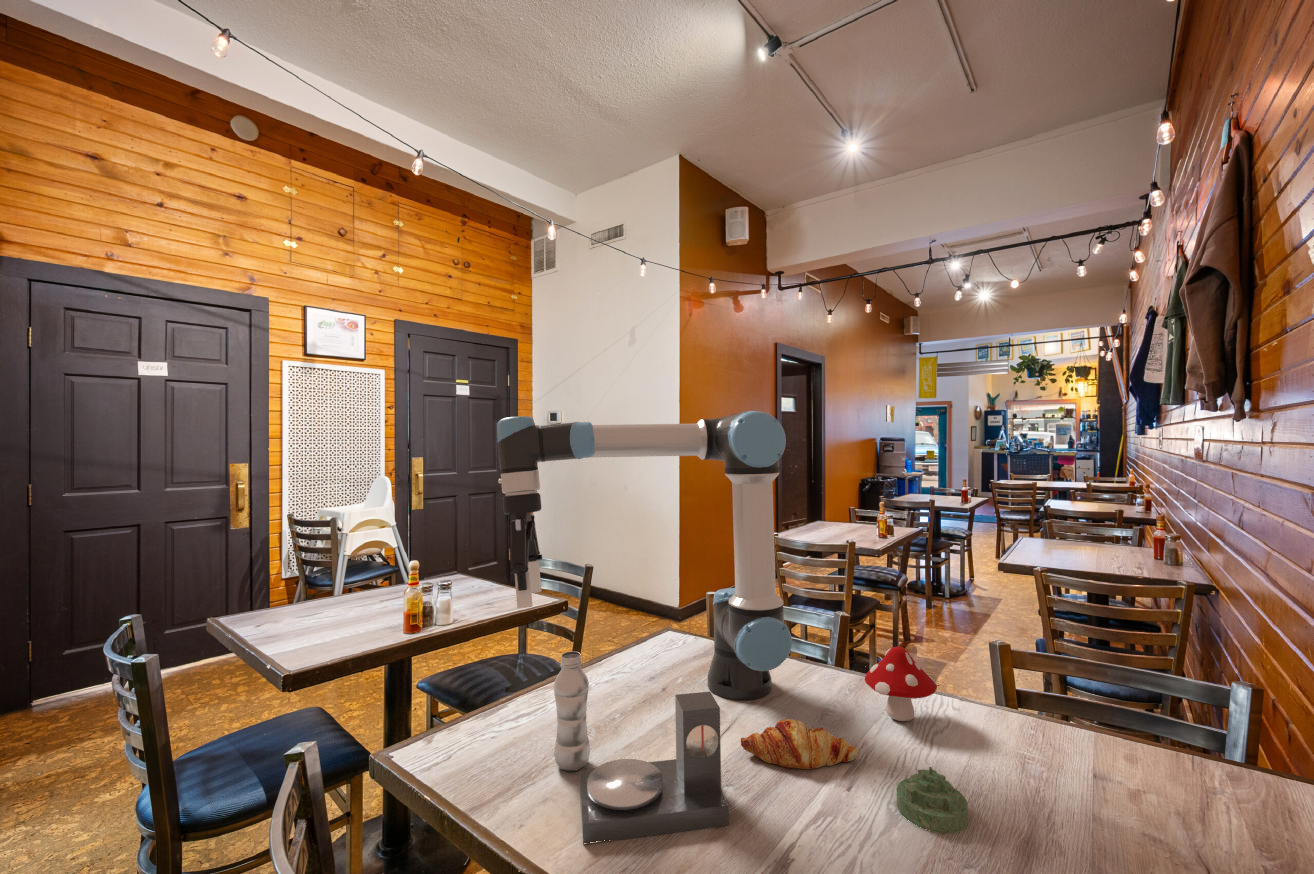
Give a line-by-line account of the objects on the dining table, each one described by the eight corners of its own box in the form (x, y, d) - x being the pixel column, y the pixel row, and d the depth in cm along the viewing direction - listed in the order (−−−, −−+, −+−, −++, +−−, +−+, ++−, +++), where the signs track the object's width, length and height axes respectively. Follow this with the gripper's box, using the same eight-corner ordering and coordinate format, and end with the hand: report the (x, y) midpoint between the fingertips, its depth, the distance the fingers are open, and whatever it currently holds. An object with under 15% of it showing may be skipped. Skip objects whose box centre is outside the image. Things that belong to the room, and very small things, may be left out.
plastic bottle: (593, 756, 106) (592, 648, 107) (585, 777, 100) (584, 662, 100) (560, 754, 107) (558, 647, 107) (549, 775, 100) (548, 661, 101)
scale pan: (655, 761, 98) (655, 755, 98) (669, 804, 86) (669, 797, 86) (585, 768, 96) (585, 762, 96) (589, 814, 84) (589, 807, 84)
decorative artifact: (974, 809, 90) (907, 785, 96) (973, 764, 90) (906, 743, 96) (959, 844, 82) (888, 816, 89) (958, 795, 82) (887, 770, 89)
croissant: (854, 771, 106) (850, 723, 110) (867, 773, 98) (862, 721, 101) (739, 764, 109) (739, 717, 112) (742, 765, 100) (741, 714, 104)
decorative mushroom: (927, 705, 125) (926, 636, 125) (948, 737, 111) (946, 660, 111) (860, 701, 127) (858, 633, 127) (872, 732, 113) (870, 656, 114)
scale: (705, 772, 100) (704, 681, 101) (728, 825, 87) (727, 719, 87) (579, 787, 97) (578, 692, 97) (583, 844, 83) (581, 734, 83)
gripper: (513, 493, 128) (521, 588, 126) (488, 497, 103) (498, 616, 102) (547, 489, 128) (555, 584, 127) (531, 493, 103) (541, 611, 102)
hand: (530, 599), depth 114 cm, fingers open, 13 cm apart
